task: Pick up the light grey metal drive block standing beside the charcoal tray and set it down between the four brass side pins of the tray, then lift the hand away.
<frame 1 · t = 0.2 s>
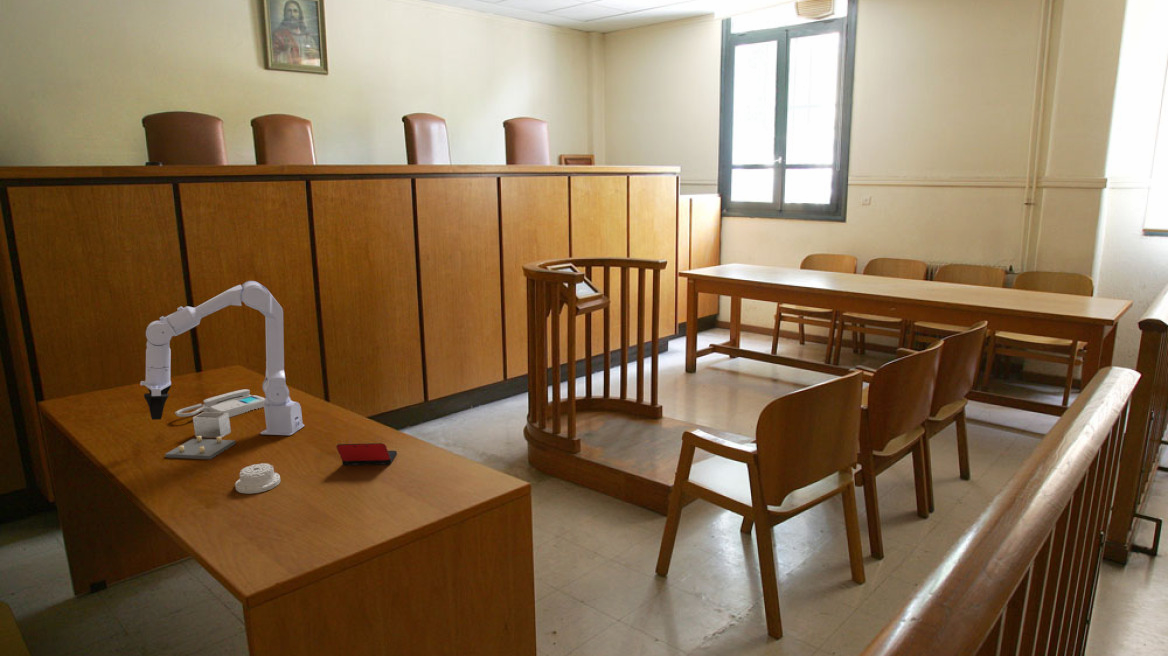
hand: (157, 414, 194), 10 cm above the table, tool pointing down, fingers open, 7 cm apart
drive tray: (201, 450, 196), on the table
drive: (213, 434, 208), on the table
handheld game console: (368, 463, 187), on the table
intercom: (221, 414, 227), on the table
mechanical component: (258, 486, 175), on the table
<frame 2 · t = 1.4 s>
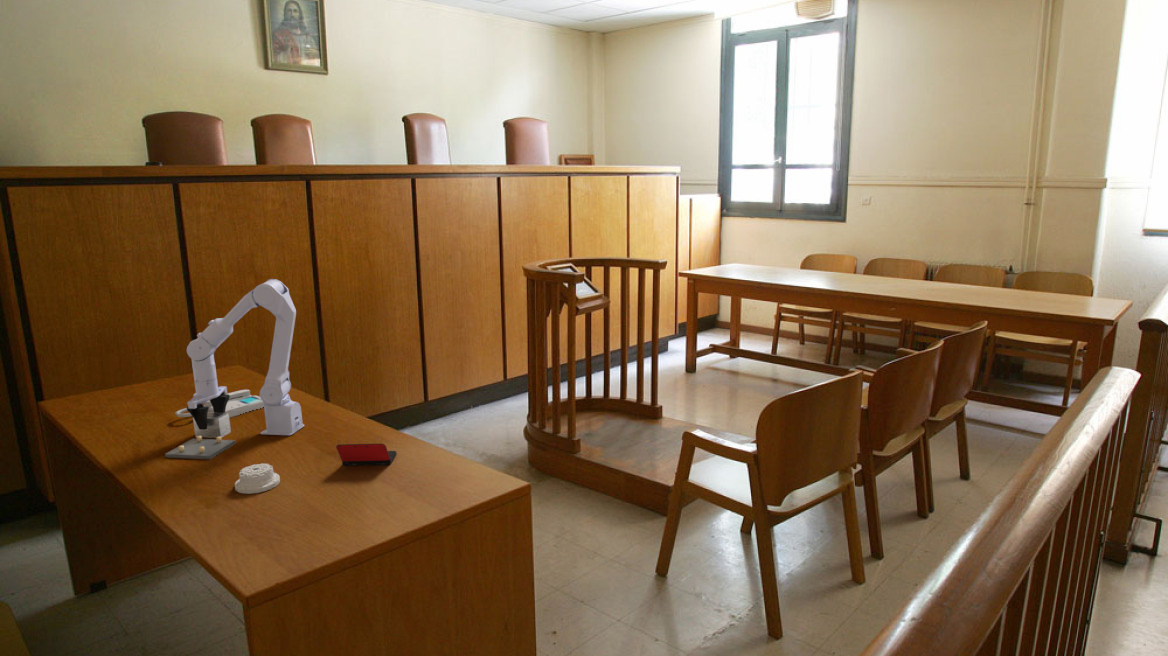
hand: (211, 424, 207), 3 cm above the table, tool pointing down, fingers open, 7 cm apart
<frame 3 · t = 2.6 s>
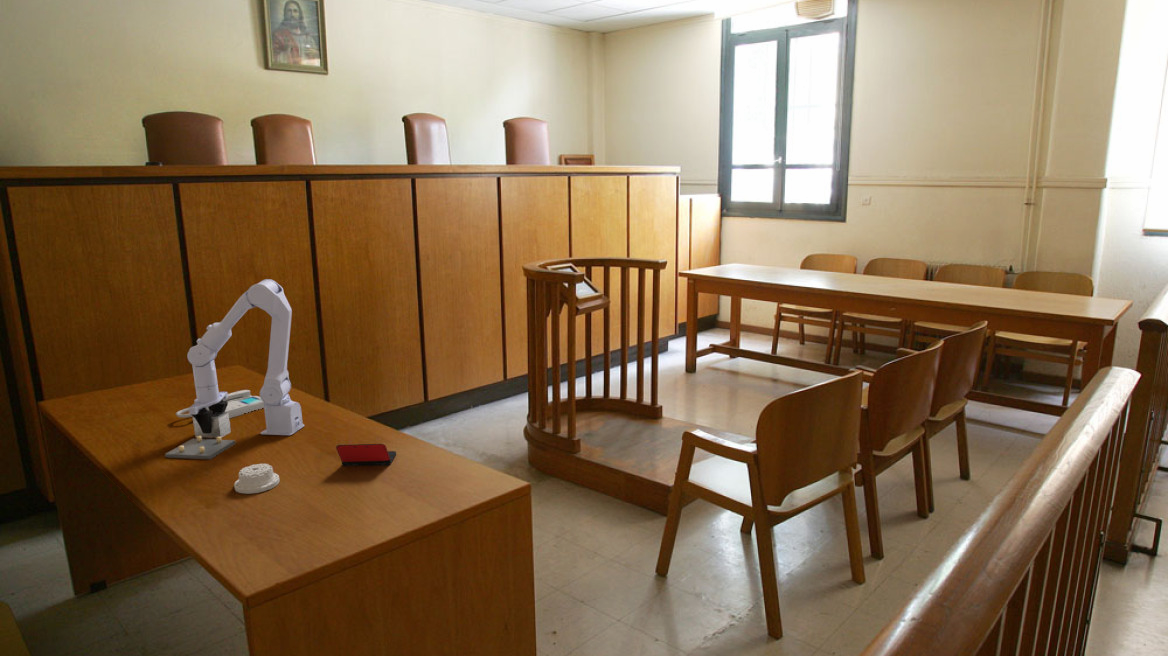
hand: (212, 429, 208), 1 cm above the table, tool pointing down, fingers closed on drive, 5 cm apart
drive: (213, 434, 208), on the table, touching gripper
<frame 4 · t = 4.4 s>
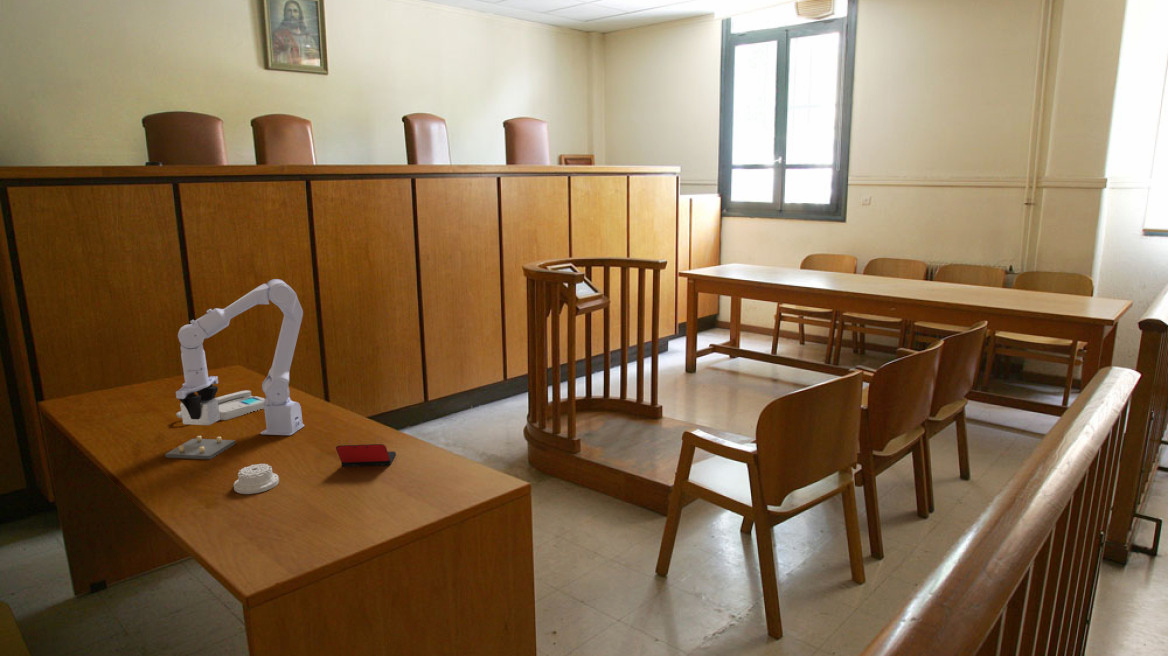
hand: (201, 415, 199), 8 cm above the table, tool pointing down, fingers closed on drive, 5 cm apart
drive: (201, 421, 199), point 7 cm above the table, touching gripper
when the fingers open (4 cm above the table, at t = 6.4 s): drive drops 1 cm, resting on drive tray.
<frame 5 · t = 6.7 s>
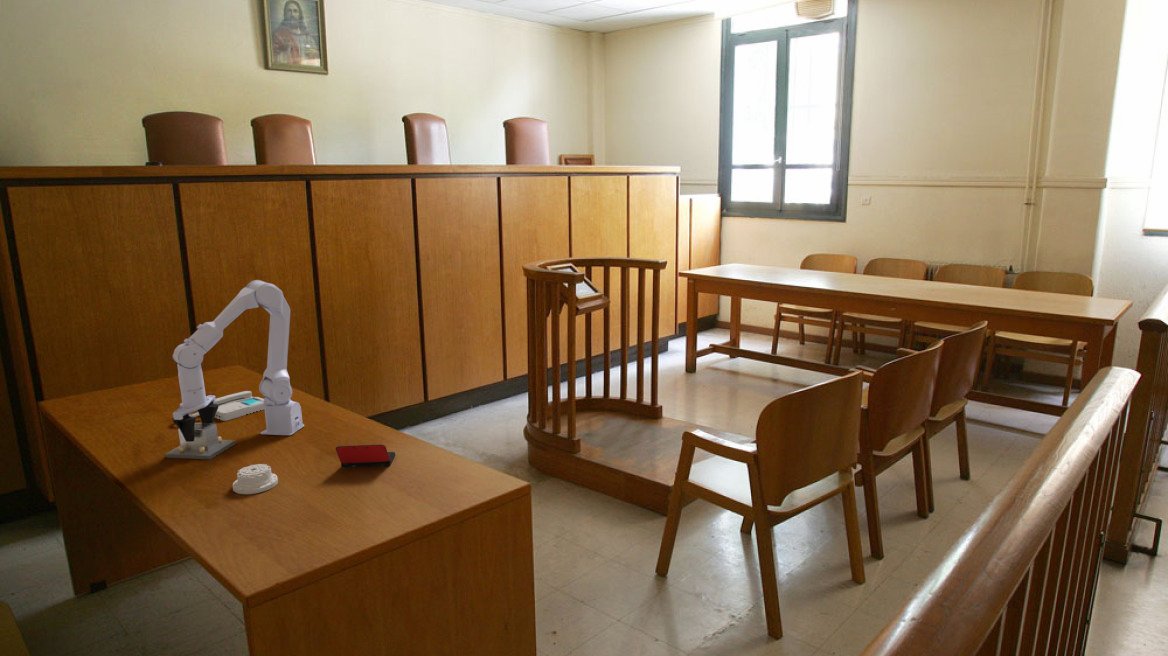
hand: (199, 435, 196), 4 cm above the table, tool pointing down, fingers open, 7 cm apart
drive: (200, 446, 196), point 1 cm above the table, touching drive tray
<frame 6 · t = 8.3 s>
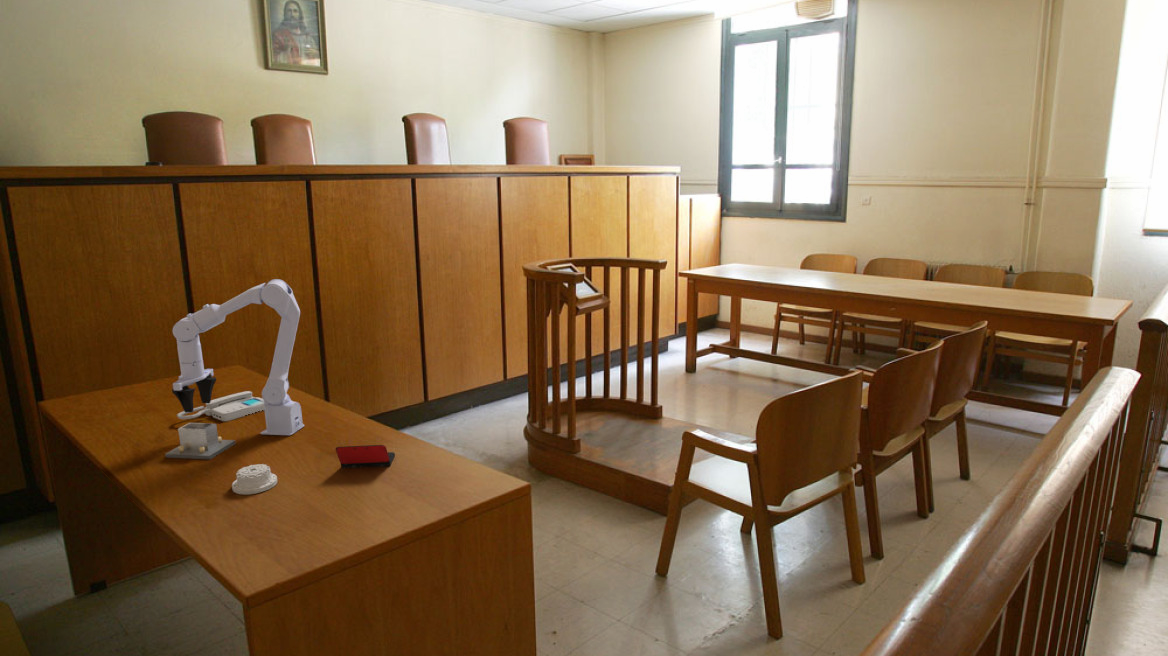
hand: (197, 407, 203), 9 cm above the table, tool pointing down, fingers open, 7 cm apart
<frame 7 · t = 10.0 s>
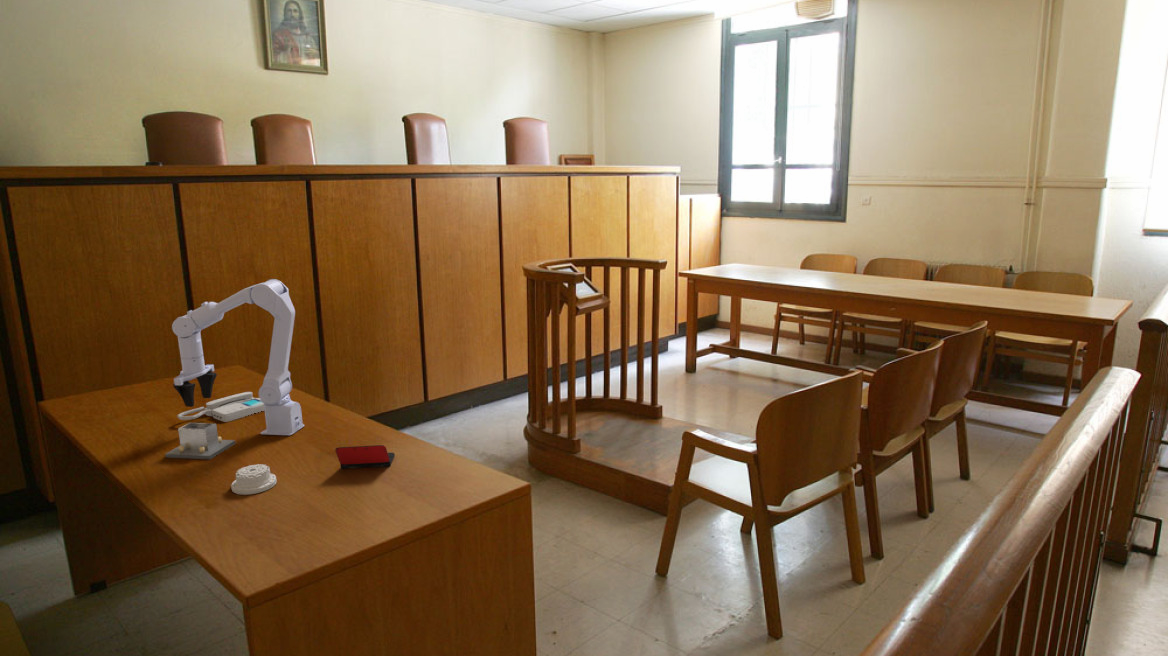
hand: (198, 401, 208), 9 cm above the table, tool pointing down, fingers open, 7 cm apart
at the end: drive 0.2 cm off-centre on the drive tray, point 1.0 cm above the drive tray's base; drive tilted 0°; the gripper is holding nothing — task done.
